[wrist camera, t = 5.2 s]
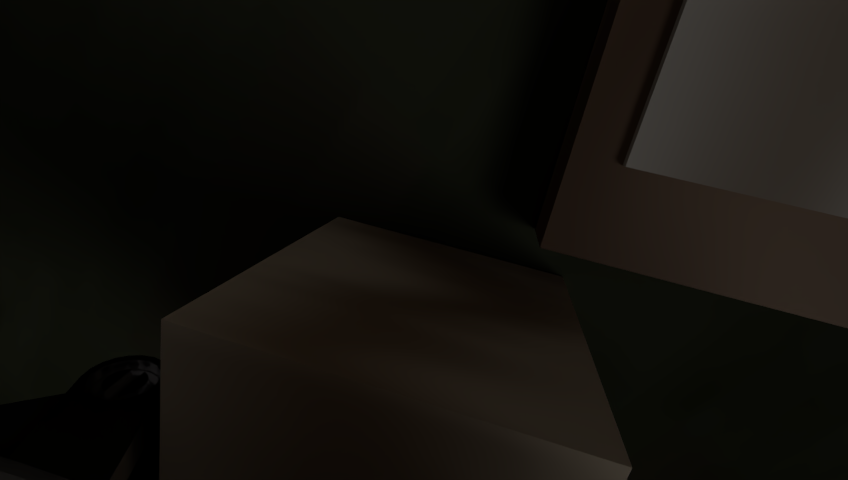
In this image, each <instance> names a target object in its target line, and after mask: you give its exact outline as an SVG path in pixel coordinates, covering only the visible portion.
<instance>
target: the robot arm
mask: <svg viewBox="0 0 848 480" xmlns="http://www.w3.org/2000/svg"><path fill="white" fill-rule="evenodd" d="M160 372H161V360H160V359H157V358H155V357H150V356H144V355H133V356H124V357H118V358H114V359H111V360H108V361H105V362H102V363H100V364H98V365H96V366H94V367H92V368H90V369H89V370H88V371H87V372H85V373H84V374H83V375H82V376H81V377H80V378H79V379H78V380H77V381H76V382H75V383H74V384H73V385H72V387H71V388H70V389H69V390H68V391H67V392H66V393H65V394H60V395H54V396H49V397H43V398H37V399H32V400H26V401H20V402H15V403H9V404H3V405H0V480H159V453H160Z"/></svg>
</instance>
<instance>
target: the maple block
mask: <svg viewBox="0 0 848 480" xmlns="http://www.w3.org/2000/svg"><path fill="white" fill-rule="evenodd" d="M631 469H632V466H631V463H630V460H629V458H628V455H627V452H626V449H625V447H624V444H623V441H622V438H621V436H620V433H619V430H618V427H617V425H616V422H615V419H614V416H613V414H612V411H611V408H610V406H609V403H608V400H607V397H606V395H605V392H604V389H603V386H602V384H601V381H600V378H599V375H598V373H597V370H596V367H595V364H594V362H593V359H592V356H591V354H590V351H589V348H588V345H587V343H586V340H585V337H584V334H583V332H582V329H581V326H580V323H579V321H578V318H577V315H576V312H575V310H574V307H573V304H572V301H571V299H570V296H569V293H568V291H567V288H566V285H565V282H564V280H563V277H562V276H558V275H554V274H551V273H547V272H543V271H539V270H536V269H532V268H528V267H525V266H521V265H517V264H513V263H510V262H506V261H502V260H498V259H495V258H491V257H487V256H483V255H480V254H476V253H472V252H469V251H465V250H461V249H457V248H454V247H450V246H446V245H442V244H439V243H435V242H431V241H427V240H424V239H420V238H416V237H413V236H409V235H405V234H401V233H398V232H394V231H390V230H386V229H383V228H379V227H375V226H371V225H368V224H364V223H360V222H357V221H353V220H349V219H345V218H342V217H337V218H336V219H334V220H332V221H330V222H329V223H327V224H325V225H323V226H322V227H320V228H318V229H316V230H315V231H313V232H311V233H310V234H308V235H306V236H304V237H303V238H301V239H299V240H297V241H296V242H294V243H292V244H291V245H289V246H287V247H285V248H284V249H282V250H280V251H278V252H277V253H275V254H273V255H271V256H270V257H268V258H266V259H265V260H263V261H261V262H259V263H258V264H256V265H254V266H252V267H251V268H249V269H247V270H245V271H244V272H242V273H240V274H239V275H237V276H235V277H233V278H232V279H230V280H228V281H226V282H225V283H223V284H221V285H219V286H218V287H216V288H214V289H213V290H211V291H209V292H207V293H206V294H204V295H202V296H200V297H199V298H197V299H195V300H193V301H192V302H190V303H188V304H187V305H185V306H183V307H181V308H180V309H178V310H176V311H174V312H173V313H171V314H169V315H167V316H166V317H164V318H162V319H161V372H160V453H159V480H627V478H628V476H629V473H630V471H631Z"/></svg>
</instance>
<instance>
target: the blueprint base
mask: <svg viewBox="0 0 848 480" xmlns="http://www.w3.org/2000/svg"><path fill="white" fill-rule="evenodd" d="M535 231H536V235H537V238H538V242H539V246H540V248H543V249H547V250H551V251H555V252H559V253H562V254H566V255H570V256H574V257H578V258H582V259H585V260H589V261H593V262H597V263H601V264H604V265H608V266H612V267H616V268H620V269H624V270H627V271H631V272H635V273H639V274H643V275H647V276H650V277H654V278H658V279H662V280H666V281H669V282H673V283H677V284H681V285H685V286H689V287H692V288H696V289H700V290H704V291H708V292H711V293H715V294H719V295H723V296H727V297H731V298H734V299H738V300H742V301H746V302H750V303H754V304H757V305H761V306H765V307H769V308H773V309H776V310H780V311H784V312H788V313H792V314H796V315H799V316H803V317H807V318H811V319H815V320H819V321H822V322H826V323H830V324H834V325H838V326H841V327H845V328H848V0H608V1H607V4H606V8H605V11H604V14H603V17H602V20H601V23H600V27H599V30H598V33H597V36H596V39H595V42H594V46H593V49H592V52H591V55H590V58H589V61H588V64H587V68H586V71H585V74H584V77H583V80H582V83H581V87H580V90H579V93H578V96H577V99H576V102H575V106H574V109H573V112H572V115H571V118H570V121H569V125H568V128H567V131H566V134H565V137H564V140H563V143H562V147H561V150H560V153H559V156H558V159H557V162H556V166H555V169H554V172H553V175H552V178H551V181H550V185H549V188H548V191H547V194H546V197H545V200H544V204H543V207H542V210H541V213H540V216H539V219H538V222H537V226H536V229H535Z"/></svg>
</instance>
